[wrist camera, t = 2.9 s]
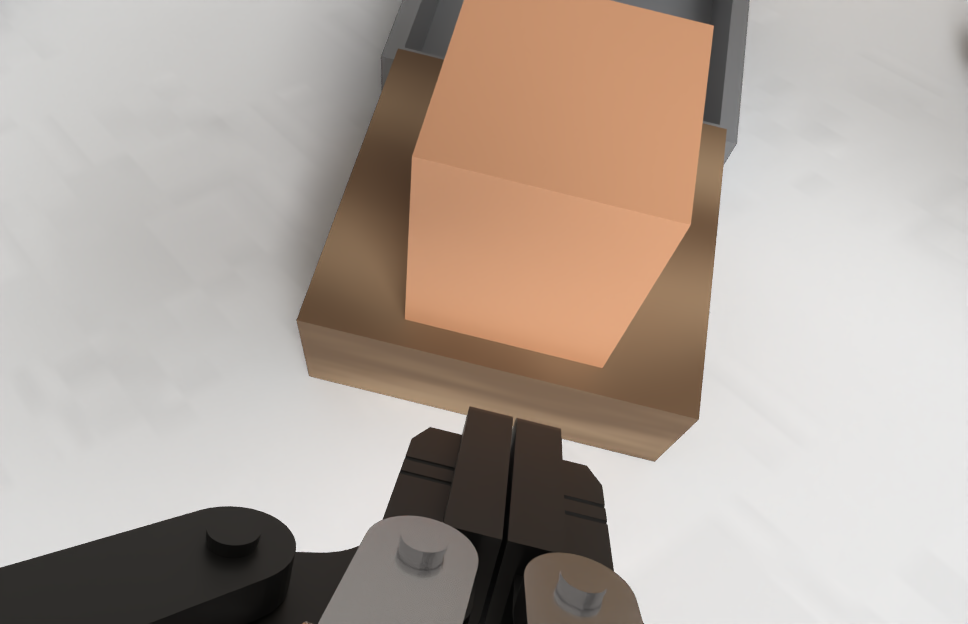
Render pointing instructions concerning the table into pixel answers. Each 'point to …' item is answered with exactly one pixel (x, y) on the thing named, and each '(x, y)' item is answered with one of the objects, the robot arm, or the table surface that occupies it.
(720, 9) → the box
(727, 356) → the table surface
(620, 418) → the square wooden plinth
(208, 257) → the table surface
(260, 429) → the table surface
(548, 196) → the terracotta block
